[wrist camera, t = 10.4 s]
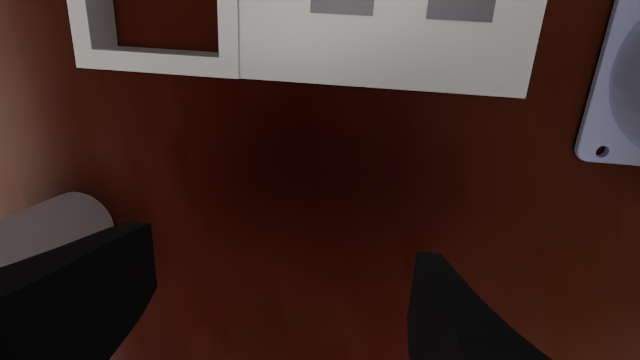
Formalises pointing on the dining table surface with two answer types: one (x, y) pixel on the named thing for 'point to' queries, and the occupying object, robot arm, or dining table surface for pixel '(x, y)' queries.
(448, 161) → the dining table surface
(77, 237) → the smoothie
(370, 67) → the power strip
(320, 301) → the dining table surface
